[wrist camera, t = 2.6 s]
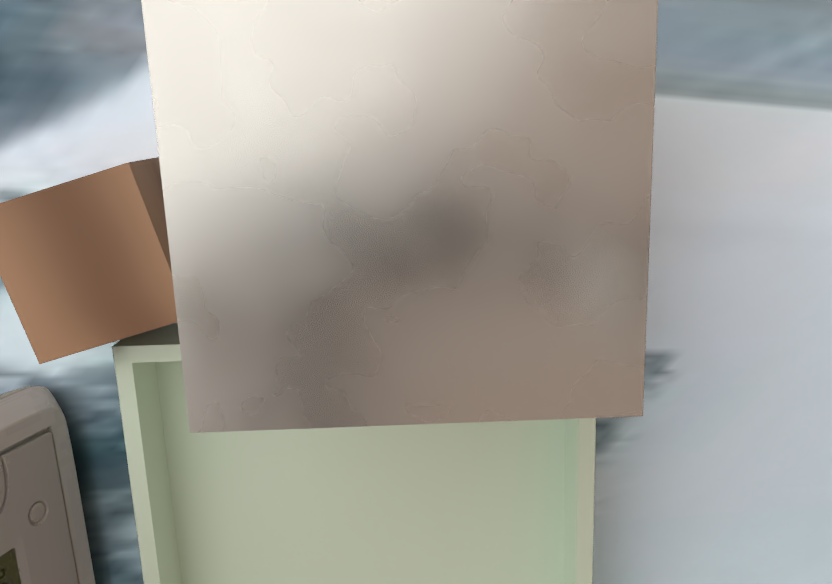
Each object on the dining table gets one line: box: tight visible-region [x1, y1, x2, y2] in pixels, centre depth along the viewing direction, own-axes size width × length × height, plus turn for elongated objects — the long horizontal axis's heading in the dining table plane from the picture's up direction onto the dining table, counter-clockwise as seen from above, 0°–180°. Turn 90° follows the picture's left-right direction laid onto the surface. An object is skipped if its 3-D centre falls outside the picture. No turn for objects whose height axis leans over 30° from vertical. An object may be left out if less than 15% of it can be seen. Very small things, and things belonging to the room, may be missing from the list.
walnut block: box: [0, 157, 177, 364], centre depth 25 cm, size 5×5×5 cm
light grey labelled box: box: [141, 0, 658, 433], centre depth 21 cm, size 10×10×12 cm
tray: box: [112, 323, 596, 584], centre depth 29 cm, size 17×21×3 cm
